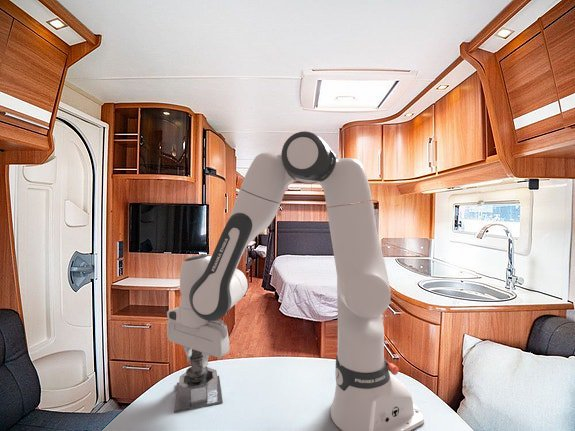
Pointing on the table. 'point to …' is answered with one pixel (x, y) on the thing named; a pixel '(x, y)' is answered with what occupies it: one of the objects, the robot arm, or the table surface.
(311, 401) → the table surface
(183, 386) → the duct collar
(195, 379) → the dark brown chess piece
